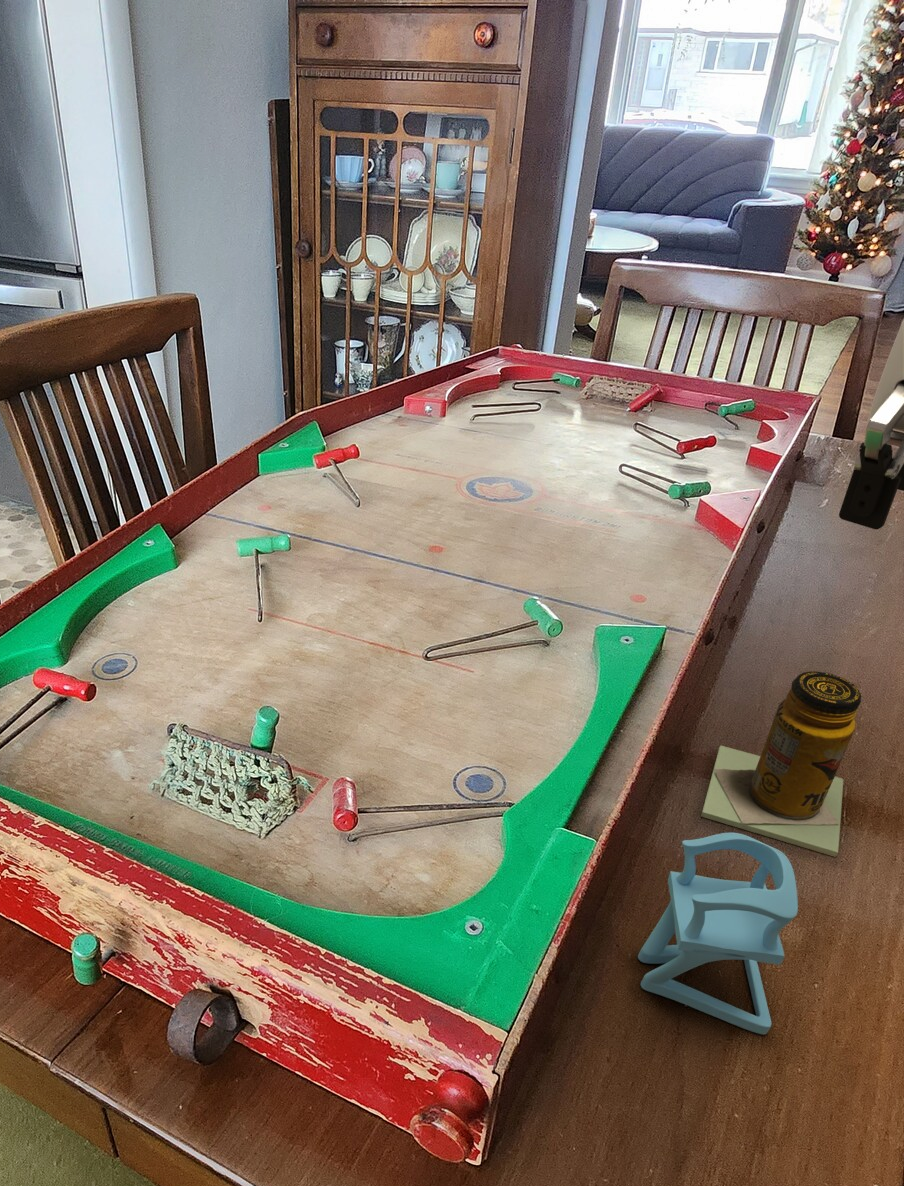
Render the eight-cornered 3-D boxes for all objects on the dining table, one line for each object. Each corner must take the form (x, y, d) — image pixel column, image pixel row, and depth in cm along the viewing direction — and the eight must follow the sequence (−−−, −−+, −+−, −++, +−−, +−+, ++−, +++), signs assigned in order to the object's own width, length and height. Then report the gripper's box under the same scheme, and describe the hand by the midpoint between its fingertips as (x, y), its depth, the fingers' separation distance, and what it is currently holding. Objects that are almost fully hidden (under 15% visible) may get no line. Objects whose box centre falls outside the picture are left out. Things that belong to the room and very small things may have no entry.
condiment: (838, 825, 78) (890, 710, 71) (742, 825, 78) (784, 709, 71) (802, 772, 84) (846, 662, 77) (712, 772, 84) (749, 660, 77)
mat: (718, 749, 87) (720, 744, 87) (841, 783, 84) (843, 778, 83) (700, 816, 79) (702, 811, 79) (836, 857, 75) (838, 852, 75)
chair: (634, 931, 68) (670, 810, 61) (749, 948, 67) (798, 827, 60) (643, 1016, 62) (683, 892, 55) (769, 1036, 61) (827, 912, 54)
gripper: (990, 292, 55) (890, 553, 65) (1073, 262, 64) (975, 493, 74) (864, 274, 59) (789, 521, 69) (959, 249, 69) (881, 468, 79)
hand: (885, 506), depth 72 cm, fingers open, 9 cm apart
